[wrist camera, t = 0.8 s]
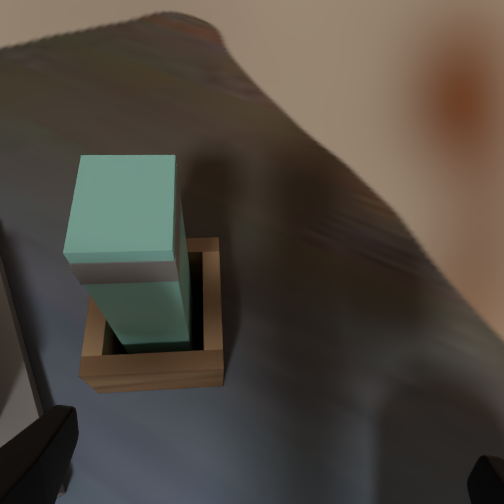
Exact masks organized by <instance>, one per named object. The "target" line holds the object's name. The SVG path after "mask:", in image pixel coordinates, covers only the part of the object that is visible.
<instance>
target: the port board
mask: <svg viewBox="0 0 504 504" xmlns="http://www.w3.org/2000/svg"><path fill="white" fill-rule="evenodd" d="M43 414H44V413H43V409H42V405H41V402H40V398H39V394H38V391H37V387H36V383H35V380H34V376H33V372H32V369H31V365H30V361H29V358H28V354H27V350H26V347H25V343H24V339H23V336H22V332H21V328H20V324H19V321H18V317H17V313H16V310H15V306H14V302H13V299H12V295H11V291H10V288H9V284H8V280H7V277H6V273H5V269H4V266H3V262H2V258H1V255H0V447H2V446H3V445H4V444H5V443H7V442H8V441H9V440H11V439H12V438H13V437H15V436H16V435H17V434H18V433H20V432H21V431H22V430H24V429H25V428H26V427H28V426H29V425H30V424H31V423H33V422H34V421H35V420H37V419H38V418H39V417H41V416H42V415H43ZM63 494H65V490H64V486H63V482H62V485H61V488H60V491H59V493H58V496H57V498H58V497H60V496H61V495H63Z"/></svg>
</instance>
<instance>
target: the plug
mask: <svg viewBox="0 0 504 504" xmlns="http://www.w3.org/2000/svg"><path fill="white" fill-rule="evenodd" d="M63 254H64V255H65V257H66V258H67V260H68V261H69V262H68V265H69V267H70V268H71V270H72V271H73V273H74V274H75V276H76V277H77V279H78V281H79V282H80V284H81V285H84V286H85V288H86V289H87V291H88V292H89V294H90V295H91V297H92V298H93V300H94V302H95V303H96V305H97V306H98V308H99V309H100V311H101V312H102V314H103V315H104V317H105V319H106V320H107V322H108V323H109V325H110V326H111V328H112V329H113V331H114V332H115V334H116V336H117V337H118V339H119V340H120V342H121V343H122V345H123V346H124V348H125V349H126V351H127V353H128V354H140V353H160V352H180V351H193V292H192V284H191V276H190V268H189V260H188V252H187V244H186V236H185V229H184V221H183V213H182V205H181V187H180V179H179V171H178V166H177V165H176V158H175V155H81V159H80V165H79V170H78V176H77V181H76V186H75V192H74V197H73V203H72V208H71V213H70V219H69V224H68V230H67V235H66V240H65V246H64V251H63Z"/></svg>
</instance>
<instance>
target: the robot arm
mask: <svg viewBox="0 0 504 504" xmlns="http://www.w3.org/2000/svg"><path fill="white" fill-rule="evenodd" d="M78 435H79V430H78V421H77V412H76V409H75V408H74V407H72V406H65V405H56V406H54V407H52V408H51V409H50V410H48V411H47V412H46V413H44V414H43V415H42V416H41V417H39V418H38V419H37V420H35V421H34V422H33V423H31V424H30V425H29V426H28V427H26V428H25V429H24V430H22V431H21V432H20V433H18V434H17V435H16V436H15V437H13V438H12V439H11V440H9V441H8V442H7V443H5V444H4V445H3V446H2V447H0V504H55V502H56V499H57V496H58V493H59V491H60V488H61V485H62V482H63V480H64V477H65V474H66V471H67V469H68V466H69V463H70V461H71V458H72V455H73V452H74V450H75V447H76V444H77V441H78ZM467 489H468V493H469V497H470V501H471V504H504V460H503V459H502V458H500V457H495V456H487V455H482V456H481V457H479V458H478V460H477V462H476V464H475V466H474V467H473V469H472V471H471V473H470V475H469V477H468V480H467Z"/></svg>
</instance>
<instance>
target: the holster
mask: <svg viewBox="0 0 504 504" xmlns="http://www.w3.org/2000/svg"><path fill="white" fill-rule="evenodd" d="M186 244H187V252H188V260H189V268H190V276H191V282H203V321H204V350H200V351H180V352H160V353H140V354H120V349H121V342H120V340H119V339H118V337H117V336H116V334H115V332H114V331H113V329H112V328H111V326H110V325H109V323H108V322H107V320H106V319H105V317H104V315H103V314H102V312H101V311H100V309H99V308H98V306H97V305H96V303H95V302H94V300H93V298H92V297H91V295H90V298H89V305H88V313H87V320H86V327H85V334H84V341H83V348H82V356H81V363H80V370H79V377H80V378H81V379H82V380H84V381H85V382H86V383H87V384H88V385H90V386H91V387H92V388H93V389H94V390H96V391H97V392H98V393H112V392H129V391H146V390H163V389H179V388H196V387H213V386H223V374H224V362H223V336H222V309H221V283H220V256H219V237H211V238H186Z"/></svg>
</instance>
